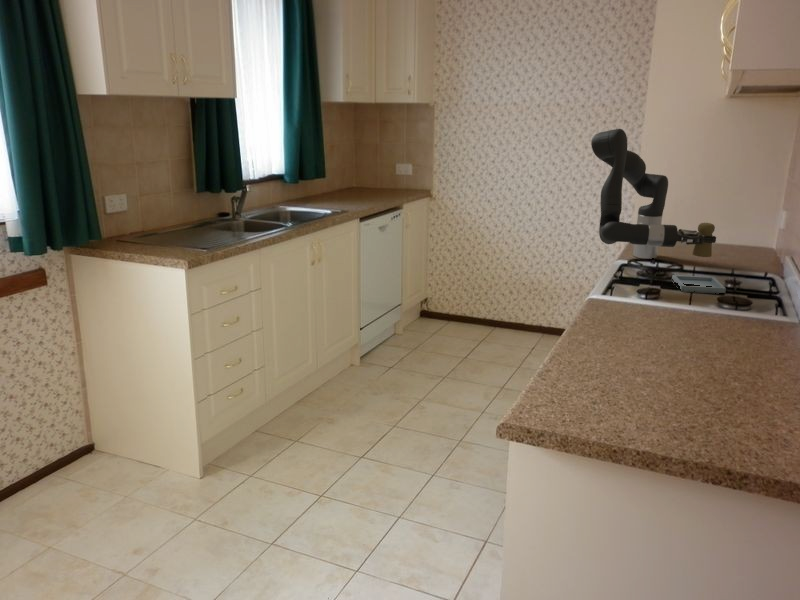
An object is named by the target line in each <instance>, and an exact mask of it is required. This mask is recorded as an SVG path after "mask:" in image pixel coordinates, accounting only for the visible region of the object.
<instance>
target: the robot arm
mask: <svg viewBox="0 0 800 600" xmlns="http://www.w3.org/2000/svg"><path fill="white" fill-rule="evenodd" d="M590 145H591V149H592V153H594V155H595V156H596V158H598V159H599V160H600V161H601V162H604V163H606V164H607V165H609V166H610V167H612V168H611V170H610V173H609V175H608V176H607V178H606V179H605V181H604V184H603V185H602V188H601V191H600V219H599V227H598V228H599V229H598V233H599V239H600V240H601V241H602V242H603V244H606V245H614V244H615V243H617V242H619V243H629V244H631V245H633V254H632V256H633V257H635V258H638V259H646V260H649V259H650V260H651V259H652V258H654V259H657V257H658V253H659V247H663V248H666V247H668V248H674V247H675V246H676V244H677V242H680V243H681V244H686V245H687V246H688V245H695V244H703V243H704V242H706V243H712V244H715V243H716V242H717V236H715V235H713V234H712V236H704V235H698V234H699V231H698V230H692V229H691V230H690V229H682V228H679V229H678V226H677V225H675V224H662V220H663V214H664V210H665V206H666V205H665V204H666V199H667V193H668V189H669V179H668V177H667V176H666V175H664V174H657V173H656V174H652V173H646V170H647V165H646V162H645V161H644V159H642V157H641V156H640V155H639V154H637V153H636V152H634V151H632V150H630V149H629V150H628V137H627V133H626V132H625V130H624V129H622V128H615V129H609V130H605V131H601V132H598V133H596V134H594V135H593V137H592V138H591V141H590ZM624 179H625V180H626V181H627V182H628V183H629V184H630V185H631V186H632V187H633V189H634V190H635V192H636V193H637V194H638V195H639V196H641V197H643V198H649V199H650V198H651V199H652V202H651V203H649V204H646V205H642V206H640V207H639V208H638V212H637V220H636V223H630V222H624V221H623V222H622V221H621V220H620V219H621V218H620V217H621V214H622V209H623V208H622V207H623V206H622V205H623V201H622V200H623V195H622V194H623V193H622V192H623V191H622V190H623V182H624V181H623V180H624ZM699 238H700V240H699V241H697V240H698V239H699Z"/></svg>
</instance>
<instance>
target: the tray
mask: <svg viewBox="0 0 800 600" xmlns="http://www.w3.org/2000/svg"><path fill="white" fill-rule="evenodd" d="M672 279H673V280H674V282H676V283H678V285H679V286H680V289H681V291H680V292H683V293H696V294H697V293H698V294H700V293H701V294H715V293H716V294H719V293H725V294H726V291H727V288H726V287H725V286H724V285H723V284H722V283H721V282H720V281H719V280H718V279H717V278H715V276H700V275H698V276H696V275H679V274H672V276H671V280H672ZM674 282H673V283H674ZM683 283H684V284H694V285H700V286H686V285H684V284H683ZM706 286H712V287H706ZM694 291H695V292H694ZM719 295H720V294H719Z"/></svg>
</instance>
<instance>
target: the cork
mask: <svg viewBox="0 0 800 600" xmlns="http://www.w3.org/2000/svg"><path fill="white" fill-rule="evenodd" d="M715 229H716V228H715V224H713V223H711V222H700V223H699V224H698V226H697V232H699V234H698V235H704V236H712V235H713V234H714V232H715ZM699 240H700V238H699V239H698V240H697V241H699ZM712 247H713V243H706V242H704V243H703V244H694V247H693V251H692V255H693V256H695V257H701V258H711V257H712V255H713V254H712V252H713V251H712V249H713V248H712Z"/></svg>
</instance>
